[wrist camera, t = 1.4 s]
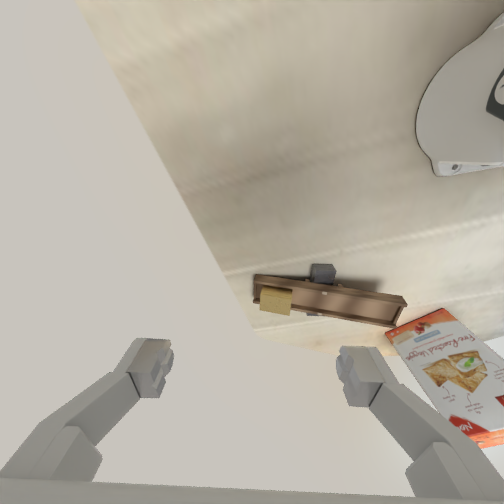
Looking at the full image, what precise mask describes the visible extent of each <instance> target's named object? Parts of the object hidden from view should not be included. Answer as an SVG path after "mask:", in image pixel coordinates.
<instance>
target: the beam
mask: <svg viewBox="0 0 504 504" xmlns="http://www.w3.org/2000/svg"><path fill="white" fill-rule="evenodd" d="M263 284H264V285H270V286H276V287H282V288H289V289H293V291H292V301H291V308H290V310H295V311H300V312H306V313H311V314H317V315H320V316H321V315H322V316H328V317H333V318H339V319H344V320H350V321H355V322H361V323H367V324H372V325H378V326H383V327H389V328H394V329H396V327H397V326H396V322H397V320H398V318H399V316H400V314H401V312H402V310H403V308H404V307H407V305H408V304H407V303H406V302H405V300H404V299H403V297H402V296H398V295H391V294H385V293H378V292H371V291H365V290H358V289H351V288H345V287H343V286H342V284H338V285H337V286H331V285H325V284H318V283H311V282H310V281H309V279H305V281H298V280H291V279H285V278H278V277H271V276H265V275H258V274H256V276H255V278H254V300H253V303H256V304H260V294H261V291H262V288H263Z"/></svg>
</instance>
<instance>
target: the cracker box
mask: <svg viewBox="0 0 504 504" xmlns="http://www.w3.org/2000/svg"><path fill="white" fill-rule="evenodd" d="M385 334H386V336H387V337H388V339H389V340H390V342H391V343H392V345H393V346H394V348H395V349H396V351H397V352H398V354H399V355H400V356H401V358H402V359H403V361H404V362H405V364H406V365H407V367H408V368H409V370H410V371H411V373H412V374H413V376H414V377H415V379H416V380H417V382H418V383H419V384H420V386H421V387H422V389H423V390H424V392H425V393H426V395H427V396H428V397H429V399H430V400H431V402H432V403H433V405H434V406H435V408H436V409H437V410H438V412H439V413H440V414H441V415H442V416H443V417H444V418H446V419H447V420H448V421H449V422H451V423H452V424H453V425H454V426H456V427H457V428H458V429H459V430H461V431H462V432H463V433H464V434H466V435H467V436H468V437H469V438H470V439H472V440H473V441H474V442H475V443H476V444H477V445H478V446H479V448H480V449H482V448H487V447H491V446H496V445H501V444H504V359H503V358H501V357H500V356H499V355H498V354H497V353H496V352H495V351H493V350H492V349H491V348H490V347H489V346H488V345H486V344H485V343H484V342H483V341H482V340H481V339H480V338H478V337H477V336H476V335H475V334H474V333H473V332H471V331H470V330H469V329H468V328H467V327H465V326H464V325H463V324H462V323H461V322H460V321H458V320H457V319H456V318H455V317H454V316H452V315H451V314H450V313H449V312H448V311H447V310H445V309H444V308H443V309H440V310H438V311H436V312H434V313H431V314H429V315H426V316H424V317H422V318H419V319H417V320H415V321H412V322H410V323H408V324H405V325H403V326H401V327H398V328H396V329H394V330H391V331H389V332H386V333H385Z"/></svg>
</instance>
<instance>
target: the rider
mask: <svg viewBox="0 0 504 504" xmlns="http://www.w3.org/2000/svg"><path fill="white" fill-rule="evenodd" d="M292 291H293V289H289V288H282V287H276V286H270V285H264V284H263V288H262V291H261V294H260V310H262V311H267V312H272V313H278V314H283V315H288V316H289V315H290V308H291V301H292Z"/></svg>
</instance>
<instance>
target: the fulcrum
mask: <svg viewBox="0 0 504 504" xmlns="http://www.w3.org/2000/svg"><path fill="white" fill-rule="evenodd" d="M335 274H336V270H335V268H334V267H333V265H332V264H313V265H312V271H311V276H310V282H311V283H318V284H325V285H331V286H333V282H334V278H335ZM306 314H307V316H320V315H317V314H311V313H306ZM321 316H322V315H321Z"/></svg>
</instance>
